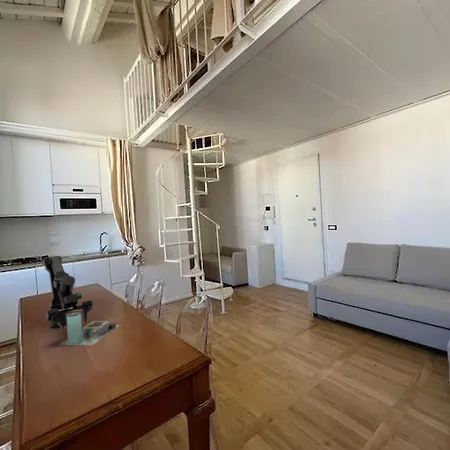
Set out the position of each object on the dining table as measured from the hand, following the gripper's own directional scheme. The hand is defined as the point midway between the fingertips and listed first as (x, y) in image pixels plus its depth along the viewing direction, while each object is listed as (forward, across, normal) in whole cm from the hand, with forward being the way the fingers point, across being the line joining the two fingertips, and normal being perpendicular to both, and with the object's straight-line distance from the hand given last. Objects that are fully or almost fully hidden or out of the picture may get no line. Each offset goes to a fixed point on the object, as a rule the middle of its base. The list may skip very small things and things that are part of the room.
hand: (74, 325), depth 120 cm
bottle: (+5, 0, +6) cm, 7 cm away
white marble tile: (+4, +7, +8) cm, 11 cm away
